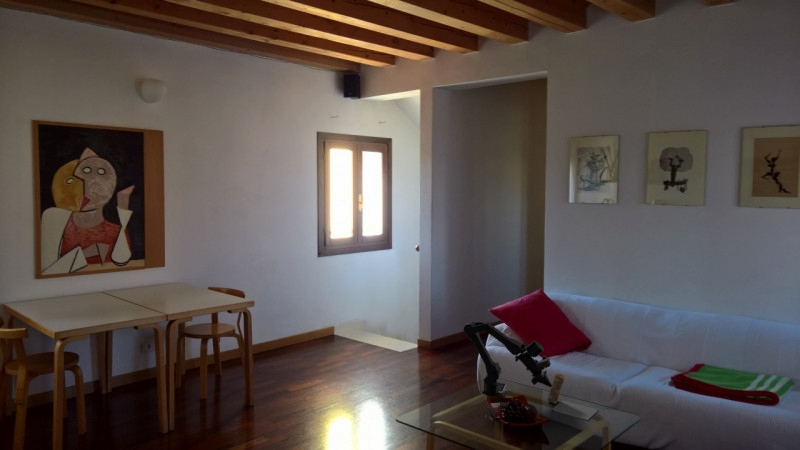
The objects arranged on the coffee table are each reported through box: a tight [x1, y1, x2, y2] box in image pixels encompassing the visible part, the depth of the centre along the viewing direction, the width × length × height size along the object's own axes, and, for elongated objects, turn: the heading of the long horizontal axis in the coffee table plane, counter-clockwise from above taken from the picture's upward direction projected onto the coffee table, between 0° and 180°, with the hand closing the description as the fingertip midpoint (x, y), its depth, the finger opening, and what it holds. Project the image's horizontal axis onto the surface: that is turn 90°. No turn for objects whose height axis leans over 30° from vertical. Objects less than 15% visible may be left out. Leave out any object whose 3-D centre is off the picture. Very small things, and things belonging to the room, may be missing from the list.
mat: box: [551, 400, 599, 422], centre depth 288 cm, size 18×14×1 cm
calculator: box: [489, 402, 501, 420], centre depth 284 cm, size 11×4×15 cm
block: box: [547, 372, 566, 405], centre depth 296 cm, size 4×4×14 cm
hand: (551, 386), depth 297 cm, fingers closed
